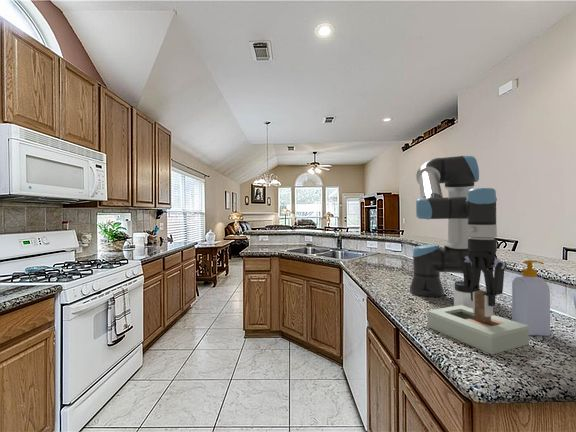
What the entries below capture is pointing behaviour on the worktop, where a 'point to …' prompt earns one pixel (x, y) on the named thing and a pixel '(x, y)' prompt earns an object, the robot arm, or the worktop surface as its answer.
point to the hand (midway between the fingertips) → (482, 314)
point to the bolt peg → (480, 308)
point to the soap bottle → (531, 301)
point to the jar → (462, 295)
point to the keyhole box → (478, 329)
